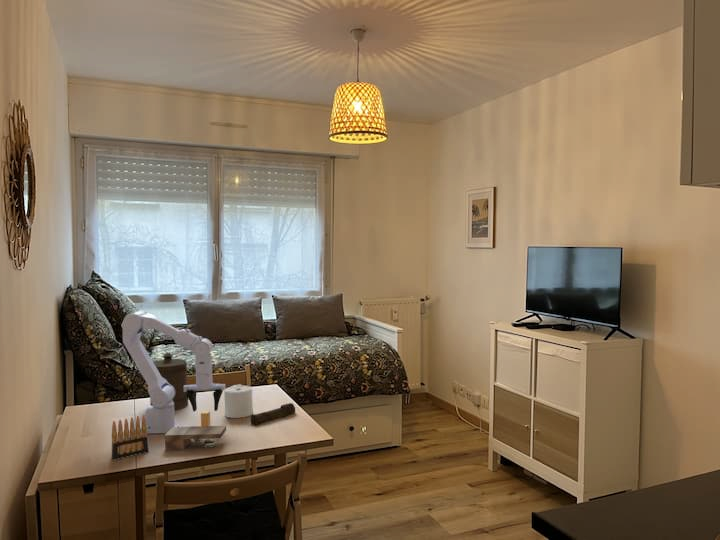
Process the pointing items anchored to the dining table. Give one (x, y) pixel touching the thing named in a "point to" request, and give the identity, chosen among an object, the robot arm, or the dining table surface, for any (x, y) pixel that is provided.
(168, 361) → the wooden container
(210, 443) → the steel puck
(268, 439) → the dining table surface
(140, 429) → the ammunition clip
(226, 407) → the toilet tissue
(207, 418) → the light wooden mallet
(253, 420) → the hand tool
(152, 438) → the dining table surface
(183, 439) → the walnut l-shaped block
